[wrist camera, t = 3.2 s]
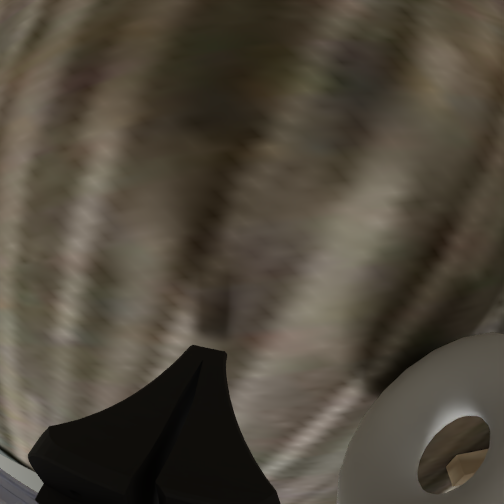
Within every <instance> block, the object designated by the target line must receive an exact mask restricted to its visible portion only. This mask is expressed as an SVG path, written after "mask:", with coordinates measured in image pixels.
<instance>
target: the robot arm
mask: <svg viewBox="0 0 504 504" xmlns="http://www.w3.org/2000/svg"><path fill="white" fill-rule="evenodd" d="M226 360H227V354H226V353H225V352H224V351H219V350H214V349H210V348H205V347H200V346H196V345H192V346H190V347H189V348H188V349H187V350H186V351H185V352H184V353H183V354H182V355H181V356H180V357H179V358H178V359H177V360H176V361H175V362H174V363H173V364H172V365H171V366H170V367H169V368H168V369H167V370H165V371H164V372H163V373H162V374H161V375H160V376H158V377H157V378H156V379H154V380H153V381H152V382H151V383H149V384H148V385H147V386H145V387H144V388H142V389H141V390H139V391H138V392H136V393H135V394H133V395H132V396H130V397H128V398H127V399H125V400H123V401H121V402H119V403H117V404H115V405H113V406H111V407H109V408H107V409H105V410H103V411H100V412H98V413H95V414H93V415H90V416H87V417H84V418H82V419H79V420H75V421H71V422H67V423H63V424H59V425H54V426H49V427H48V429H47V430H46V431H45V432H44V433H43V434H42V435H41V437H40V438H39V439H38V441H37V442H36V444H35V445H34V446H33V448H32V449H31V451H30V452H29V454H28V459H29V462H30V464H31V466H32V467H33V469H34V470H35V472H36V473H37V474H38V476H39V477H40V479H41V480H42V481H43V483H44V484H43V486H42V488H41V489H40V491H39V493H37V492H35V491H34V490H32V489H30V488H29V487H27V486H26V485H24V484H23V483H21V482H20V481H18V480H16V479H15V478H13V477H12V476H11V475H9V474H8V473H6V472H5V471H3V470H2V469H1V468H0V504H280V501H279V498H278V495H277V492H276V490H275V489H274V487H273V486H272V485H271V484H270V482H269V481H268V479H267V478H266V477H265V475H264V474H263V472H262V471H261V469H260V468H259V466H258V464H257V463H256V461H255V459H254V457H253V456H252V454H251V452H250V450H249V448H248V446H247V444H246V442H245V440H244V438H243V435H242V433H241V431H240V428H239V426H238V423H237V420H236V417H235V414H234V411H233V407H232V404H231V400H230V395H229V390H228V384H227V377H226Z"/></svg>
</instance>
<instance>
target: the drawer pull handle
mask: <svg viewBox="0 0 504 504" xmlns="http://www.w3.org/2000/svg"><path fill="white" fill-rule="evenodd" d="M487 451H488V449H484V450H479V451H475V452H470V453H464V454H459V455H456V456H455V457H454V458H453V459H452V461H451V462H450V463H449V464H448V465H447V466H446V469H447V472H448V475H449V477H450V480H451V483H452V486H453V487H454V486H458V485H462V484H464V483H465V482H466V481H468V480H469V479H470V478H471V477H472V476H473V475H474V474H475V473H476V471H477V470H478V469H479V467H480V466H481V464H482V463H483V462H484V459H485V457H486V454H487Z"/></svg>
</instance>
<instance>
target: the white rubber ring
mask: <svg viewBox="0 0 504 504" xmlns="http://www.w3.org/2000/svg"><path fill="white" fill-rule="evenodd" d="M464 416H478V417H481V418H482V419H483V420H484V421H485V422H486V423H487V424H488V426H489V429H490V445H489V449H488V451H487V454H486V457H485V459H484V462H483V463H482V464H481V466H480V467H479V469H478V470H477V471H476V473H475V474H474V475H473V476H472V477H471V478H470V479H469V480H468V481H466V482H465V483H464V484H463V485H461V486H460V487H458V488H456V489H454V490H452V491H449V492H447V493H443V494H432V493H428V492H426V491H425V490H423V489H422V487H421V485H420V483H419V481H418V474H417V471H418V466H419V461H420V459H421V456H422V454H423V452H424V450H425V448H426V446H427V445H428V444H429V442H430V441H431V440H432V438H433V437H434V436H435V435H436V434H437V433H438V432H439V431H440V430H441V429H442V428H443V427H444V426H446V425H447V424H449V423H451V422H452V421H454V420H456V419H457V418H460V417H464ZM337 504H504V334H500V333H493V332H491V333H485V334H480V335H474V336H468V337H462V338H460V339H458V340H456V341H453V342H451V343H449V344H447V345H444V346H442V347H440V348H437V349H435V350H433V351H432V352H430V353H429V354H428V355H426V356H425V357H423V358H422V359H420V360H419V361H418V362H416V363H415V364H413V365H412V366H410V367H409V368H407V369H406V370H405V371H404V372H403V373H402V374H401V375H400V376H399V377H398V378H397V379H395V380H394V381H393V382H392V383H391V384H390V385H389V386H388V387H387V388H386V389H385V390H384V391H383V392H382V393H381V395H380V396H379V397H378V399H377V400H376V401H375V403H374V404H373V405H372V407H371V408H370V409H369V410H368V412H367V413H366V414H365V415H364V417H363V419H362V421H361V423H360V425H359V426H358V428H357V430H356V432H355V434H354V436H353V437H352V439H351V441H350V443H349V445H348V449H347V452H346V455H345V458H344V461H343V464H342V467H341V470H340V473H339V482H338V495H337Z"/></svg>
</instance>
